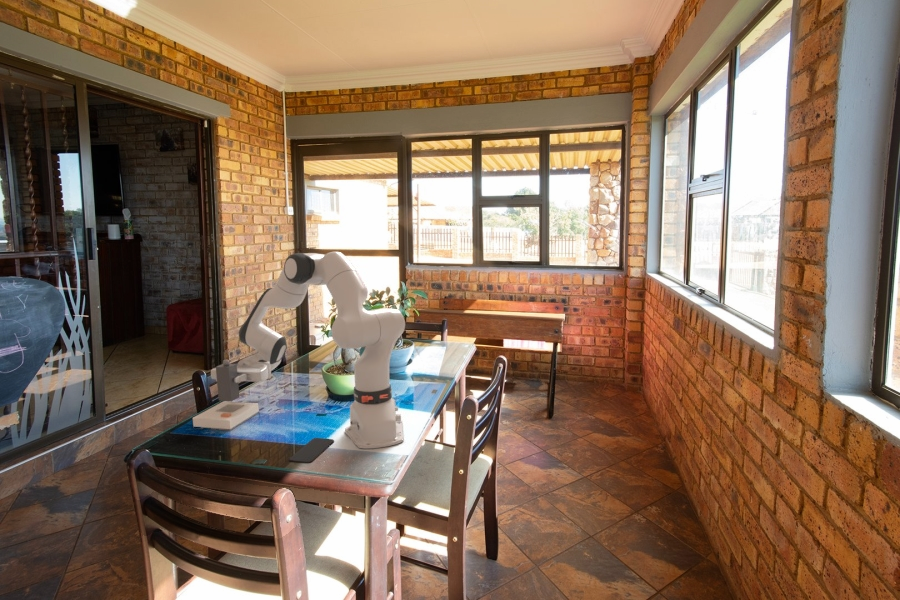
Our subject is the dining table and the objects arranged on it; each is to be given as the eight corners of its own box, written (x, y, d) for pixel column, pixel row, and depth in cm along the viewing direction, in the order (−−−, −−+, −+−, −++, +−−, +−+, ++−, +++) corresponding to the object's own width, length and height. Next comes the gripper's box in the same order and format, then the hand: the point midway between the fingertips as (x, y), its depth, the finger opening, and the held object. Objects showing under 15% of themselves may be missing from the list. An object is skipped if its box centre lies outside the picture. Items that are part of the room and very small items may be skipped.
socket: (224, 410, 182) (223, 399, 182) (258, 412, 179) (258, 401, 179) (193, 427, 167) (192, 415, 166) (230, 430, 164) (229, 418, 163)
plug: (226, 396, 177) (223, 358, 175) (239, 397, 176) (236, 358, 174) (218, 400, 173) (215, 361, 170) (231, 401, 172) (228, 362, 169)
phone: (287, 459, 142) (313, 437, 156) (287, 462, 142) (314, 439, 156) (310, 462, 140) (335, 439, 154) (311, 465, 140) (335, 441, 154)
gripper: (224, 359, 187) (198, 369, 174) (273, 361, 183) (251, 372, 170) (226, 375, 188) (200, 387, 175) (274, 378, 184) (252, 390, 171)
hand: (225, 380), depth 172 cm, fingers closed on plug, 5 cm apart
